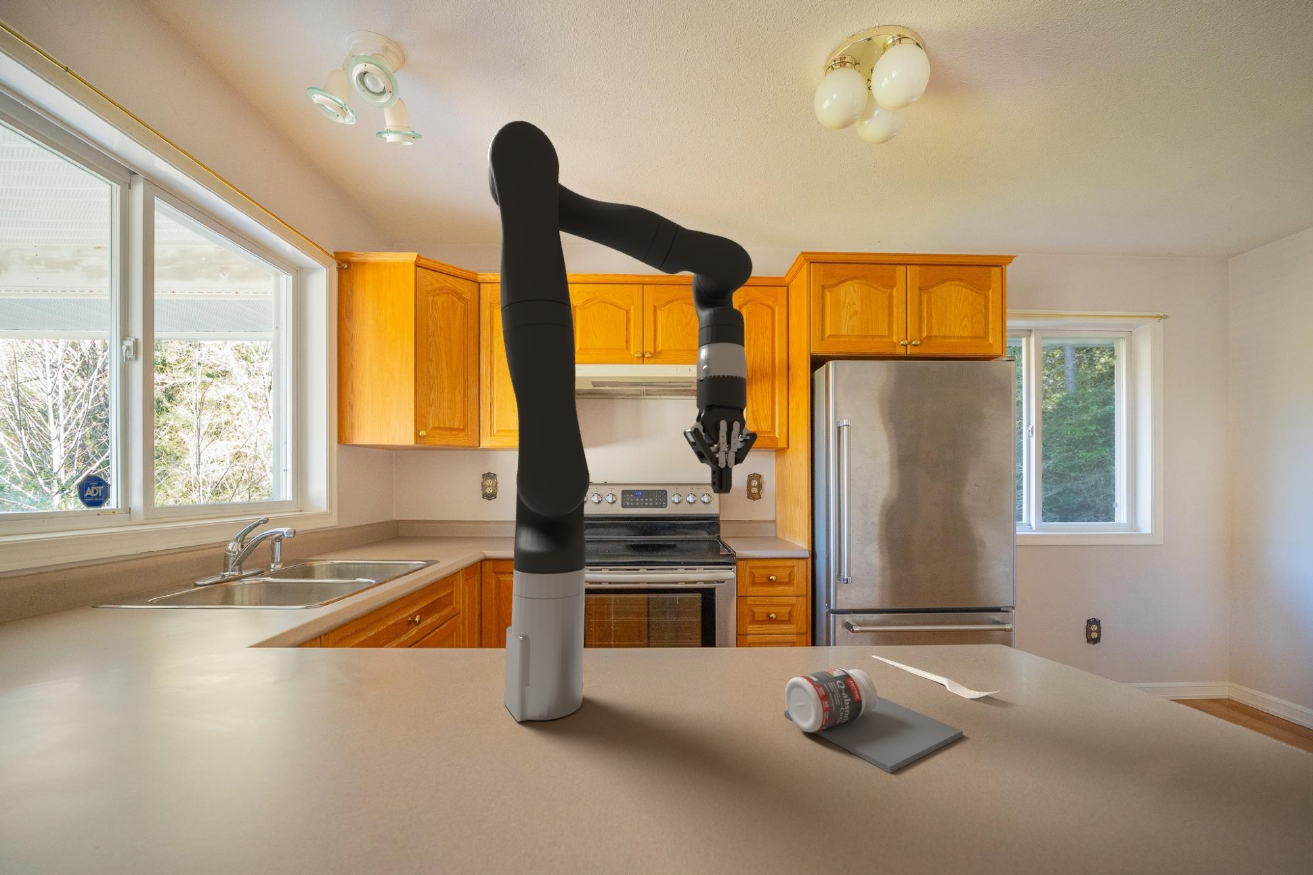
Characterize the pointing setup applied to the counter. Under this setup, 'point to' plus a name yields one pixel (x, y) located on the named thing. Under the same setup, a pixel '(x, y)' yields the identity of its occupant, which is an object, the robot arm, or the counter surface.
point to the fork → (939, 680)
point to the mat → (890, 735)
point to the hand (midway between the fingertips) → (721, 493)
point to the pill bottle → (829, 698)
